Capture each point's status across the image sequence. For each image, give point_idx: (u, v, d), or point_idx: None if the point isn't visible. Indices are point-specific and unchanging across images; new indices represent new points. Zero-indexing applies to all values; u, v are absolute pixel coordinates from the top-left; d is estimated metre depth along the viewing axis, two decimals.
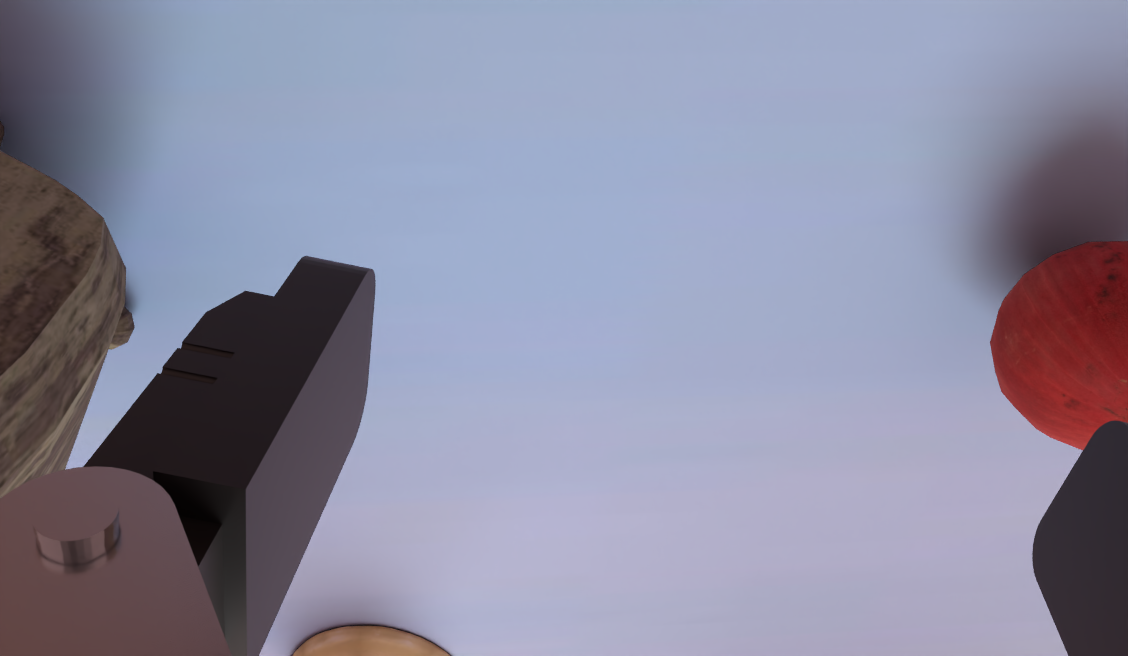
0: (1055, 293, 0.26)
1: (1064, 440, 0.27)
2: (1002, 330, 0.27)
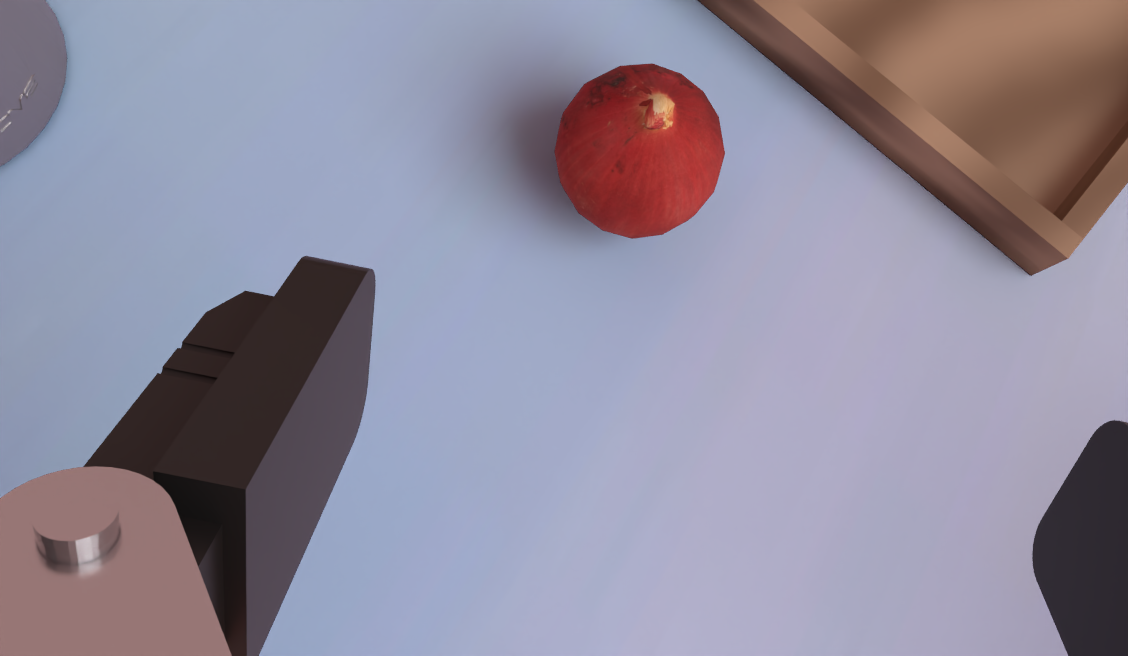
0: (559, 159, 0.33)
1: (668, 192, 0.31)
2: (580, 209, 0.33)
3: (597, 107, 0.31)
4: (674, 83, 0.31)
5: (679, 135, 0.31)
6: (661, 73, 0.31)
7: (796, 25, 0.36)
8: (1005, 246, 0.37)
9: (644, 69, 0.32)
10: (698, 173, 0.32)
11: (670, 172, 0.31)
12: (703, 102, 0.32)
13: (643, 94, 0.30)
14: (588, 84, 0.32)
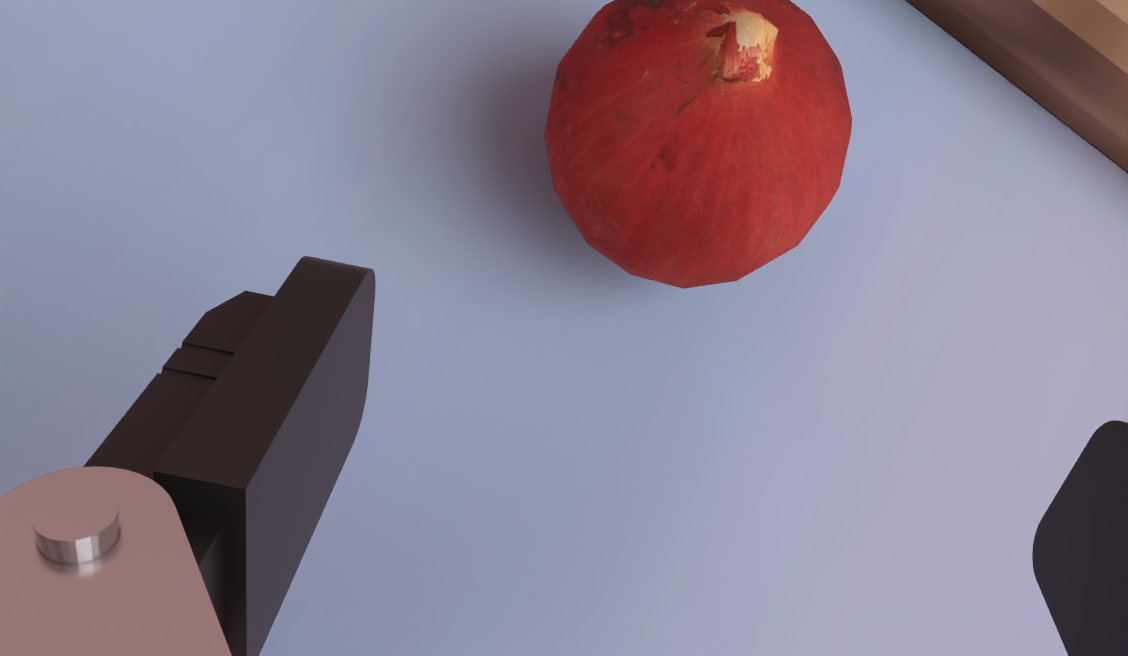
0: (552, 147, 0.18)
1: (757, 206, 0.17)
2: (592, 239, 0.18)
3: (621, 45, 0.16)
4: None
5: (782, 96, 0.16)
6: None
7: None
8: None
9: None
10: (814, 169, 0.17)
11: (764, 169, 0.16)
12: (819, 37, 0.17)
13: (712, 15, 0.15)
14: (603, 10, 0.18)
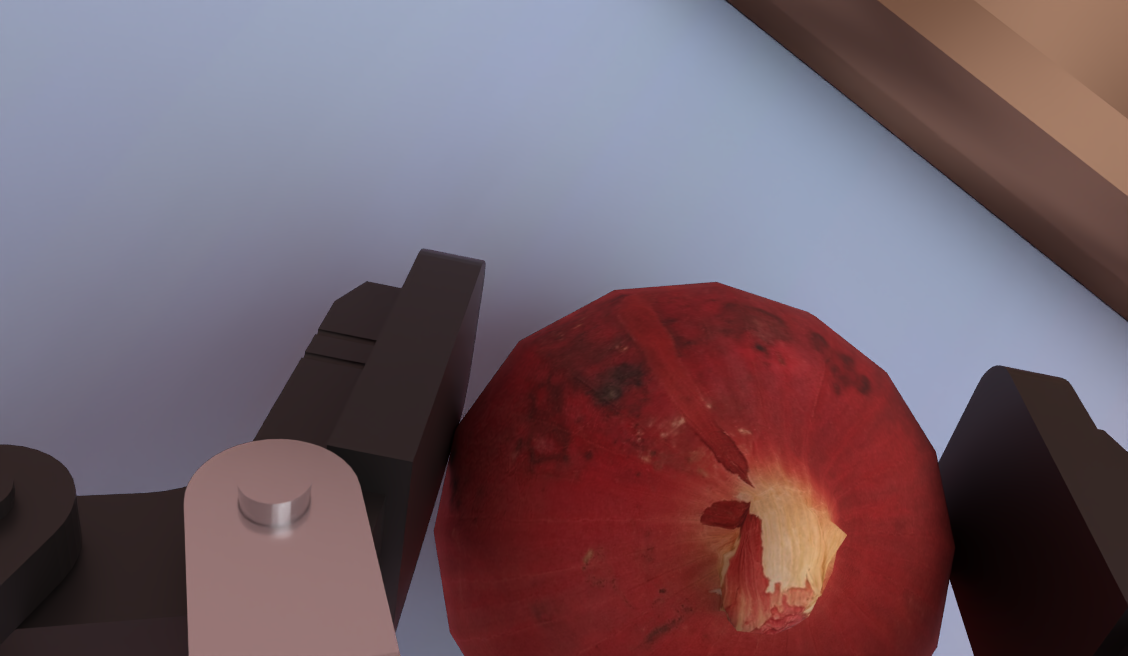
0: (442, 578, 0.11)
1: None
2: None
3: (546, 478, 0.09)
4: (818, 391, 0.09)
5: (847, 606, 0.08)
6: (768, 351, 0.09)
7: (1079, 133, 0.14)
8: None
9: (708, 332, 0.09)
10: None
11: None
12: (906, 437, 0.09)
13: (715, 470, 0.08)
14: (526, 360, 0.10)
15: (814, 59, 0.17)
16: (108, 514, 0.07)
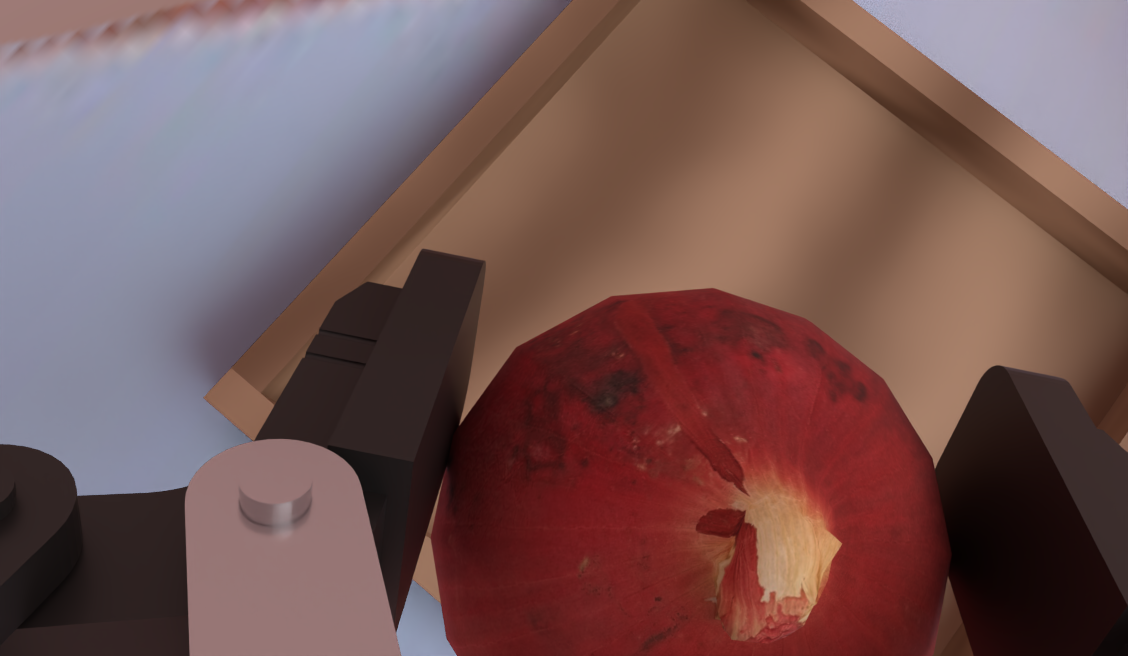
0: (438, 584, 0.11)
1: None
2: None
3: (543, 486, 0.09)
4: (814, 399, 0.09)
5: (842, 613, 0.08)
6: (764, 358, 0.09)
7: (420, 567, 0.24)
8: None
9: (704, 339, 0.09)
10: None
11: None
12: (902, 444, 0.09)
13: (709, 477, 0.08)
14: (523, 366, 0.10)
15: None
16: (108, 513, 0.07)
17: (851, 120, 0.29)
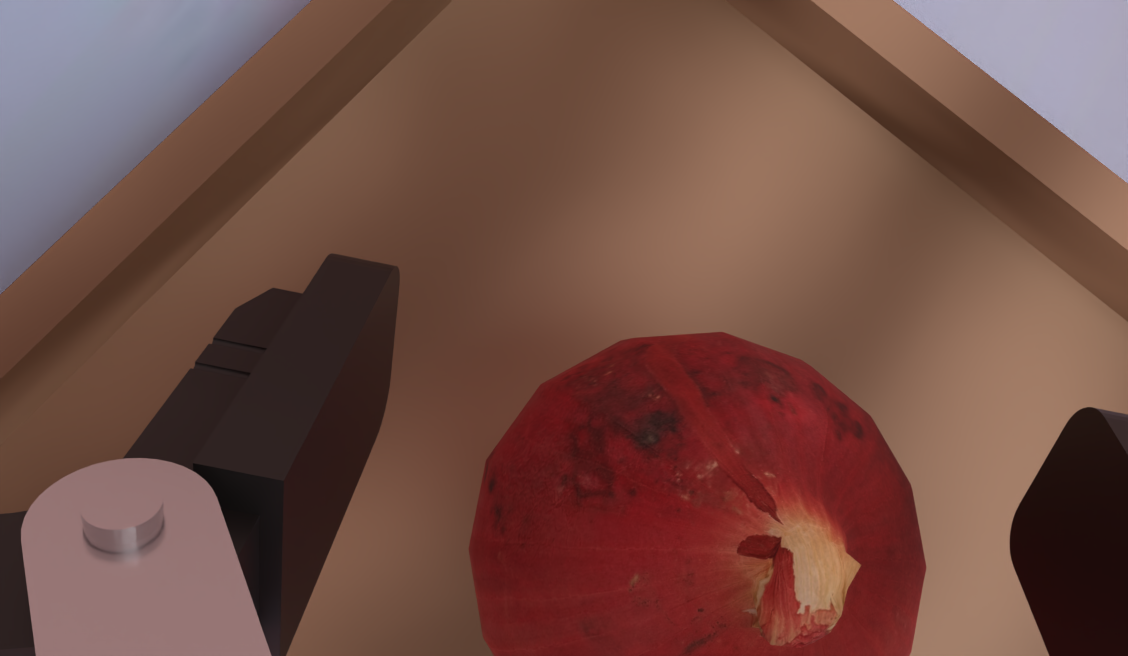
0: (480, 594, 0.12)
1: None
2: None
3: (595, 512, 0.10)
4: (825, 439, 0.10)
5: (850, 621, 0.10)
6: (781, 402, 0.11)
7: None
8: None
9: (729, 384, 0.11)
10: None
11: None
12: (892, 475, 0.11)
13: (748, 508, 0.09)
14: (563, 402, 0.12)
15: None
16: None
17: (826, 143, 0.18)
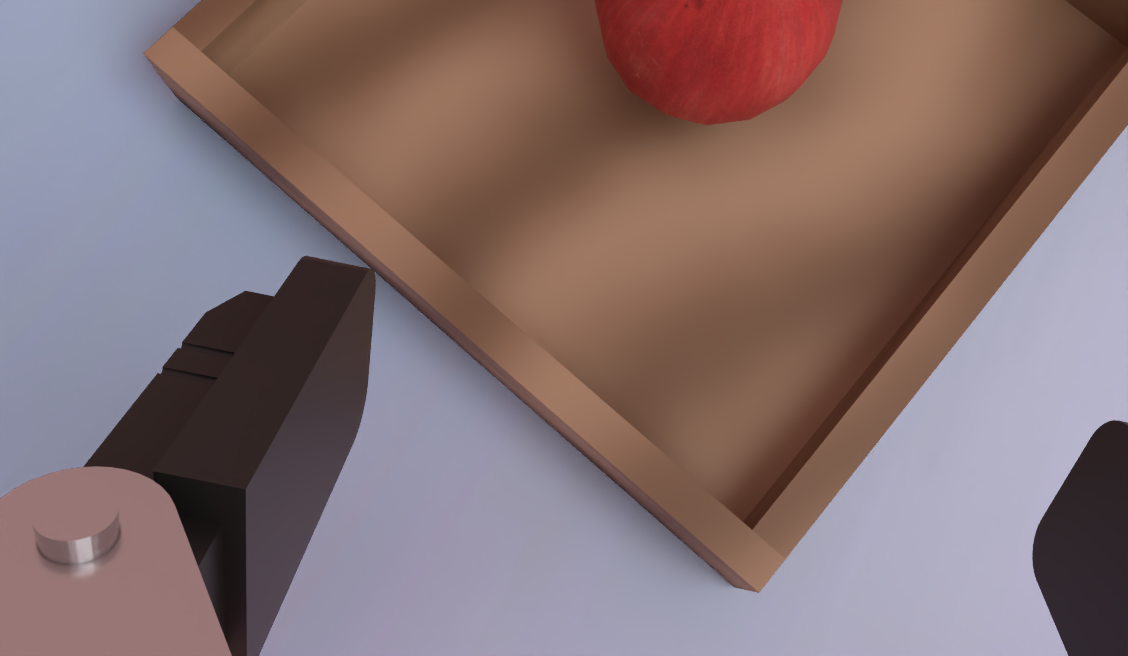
0: (602, 5, 0.23)
1: (768, 40, 0.21)
2: (634, 80, 0.23)
3: None
4: None
5: None
6: None
7: (354, 220, 0.24)
8: (691, 547, 0.25)
9: None
10: (813, 13, 0.21)
11: (773, 7, 0.21)
12: None
13: None
14: None
15: (256, 165, 0.26)
16: None
17: None
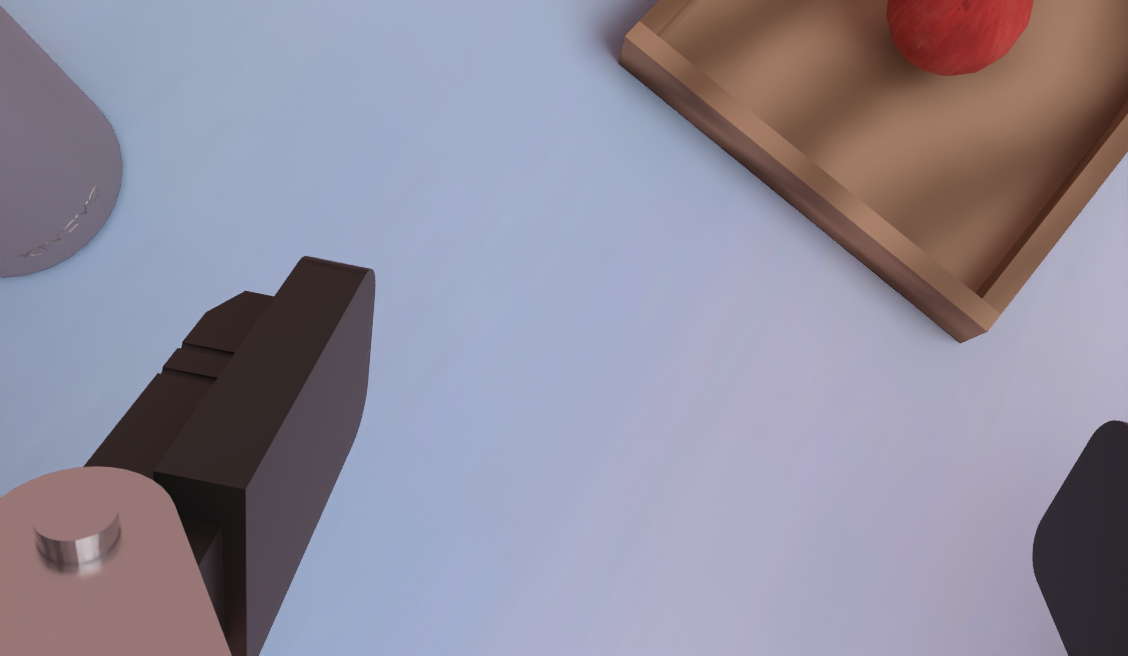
0: (899, 8, 0.41)
1: (1000, 27, 0.39)
2: (914, 50, 0.41)
3: None
4: None
5: None
6: None
7: (751, 130, 0.42)
8: (937, 318, 0.43)
9: None
10: (1023, 12, 0.39)
11: (1005, 9, 0.39)
12: None
13: None
14: None
15: (670, 102, 0.44)
16: None
17: None
